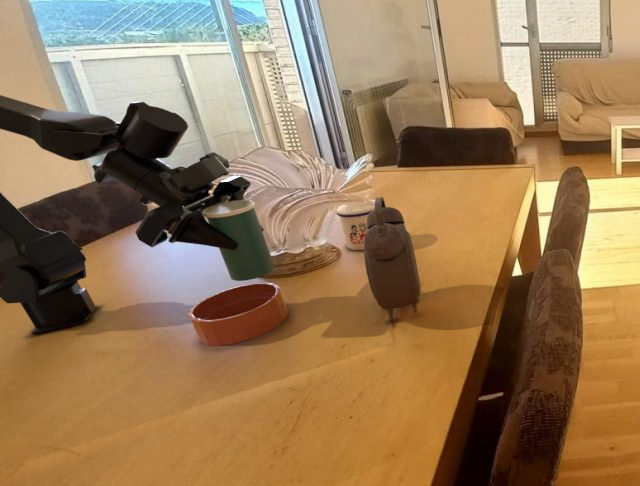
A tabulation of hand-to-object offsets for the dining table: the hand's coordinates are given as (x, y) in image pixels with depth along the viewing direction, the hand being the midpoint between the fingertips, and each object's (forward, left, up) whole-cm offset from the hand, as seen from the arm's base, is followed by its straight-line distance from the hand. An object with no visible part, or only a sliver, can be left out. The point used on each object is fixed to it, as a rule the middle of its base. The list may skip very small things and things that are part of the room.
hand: (249, 239), depth 79 cm
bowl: (-4, -4, -13) cm, 15 cm away
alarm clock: (+19, -13, -14) cm, 27 cm away
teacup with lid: (+19, +22, -14) cm, 32 cm away
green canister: (-1, +1, -6) cm, 6 cm away
